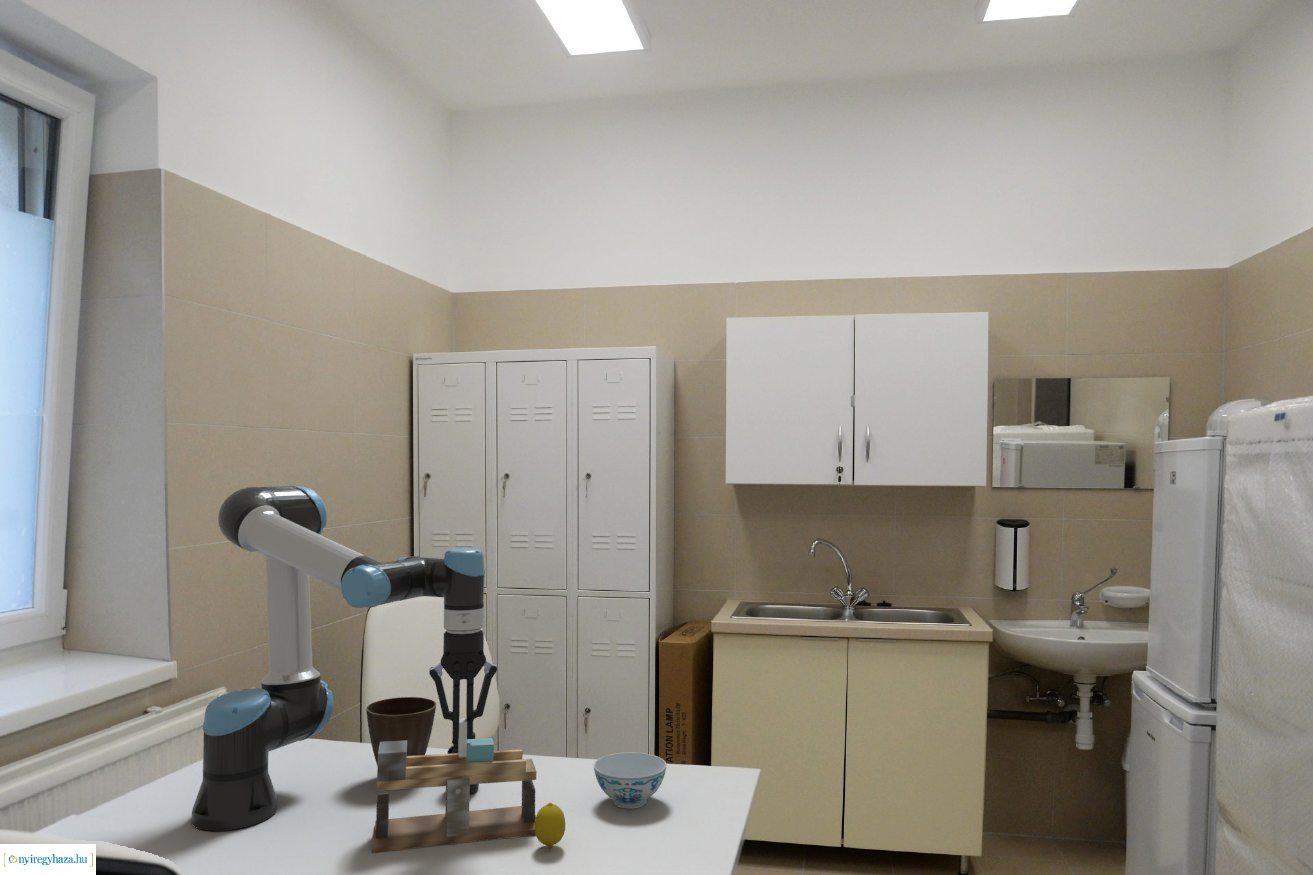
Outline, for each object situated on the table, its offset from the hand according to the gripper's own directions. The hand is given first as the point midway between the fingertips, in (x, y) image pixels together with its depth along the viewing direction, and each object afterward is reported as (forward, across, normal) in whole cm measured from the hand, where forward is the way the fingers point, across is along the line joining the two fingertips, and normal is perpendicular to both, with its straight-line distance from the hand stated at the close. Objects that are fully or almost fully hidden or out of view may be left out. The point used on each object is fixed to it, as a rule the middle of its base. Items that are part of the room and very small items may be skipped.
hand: (462, 754), depth 163 cm
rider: (+3, +3, 0) cm, 4 cm away
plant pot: (+14, -12, +31) cm, 36 cm away
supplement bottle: (+14, +1, +20) cm, 25 cm away
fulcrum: (+14, -1, 0) cm, 14 cm away
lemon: (+14, +15, -12) cm, 24 cm away
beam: (+5, -1, 0) cm, 5 cm away
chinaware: (+14, +34, +5) cm, 37 cm away
